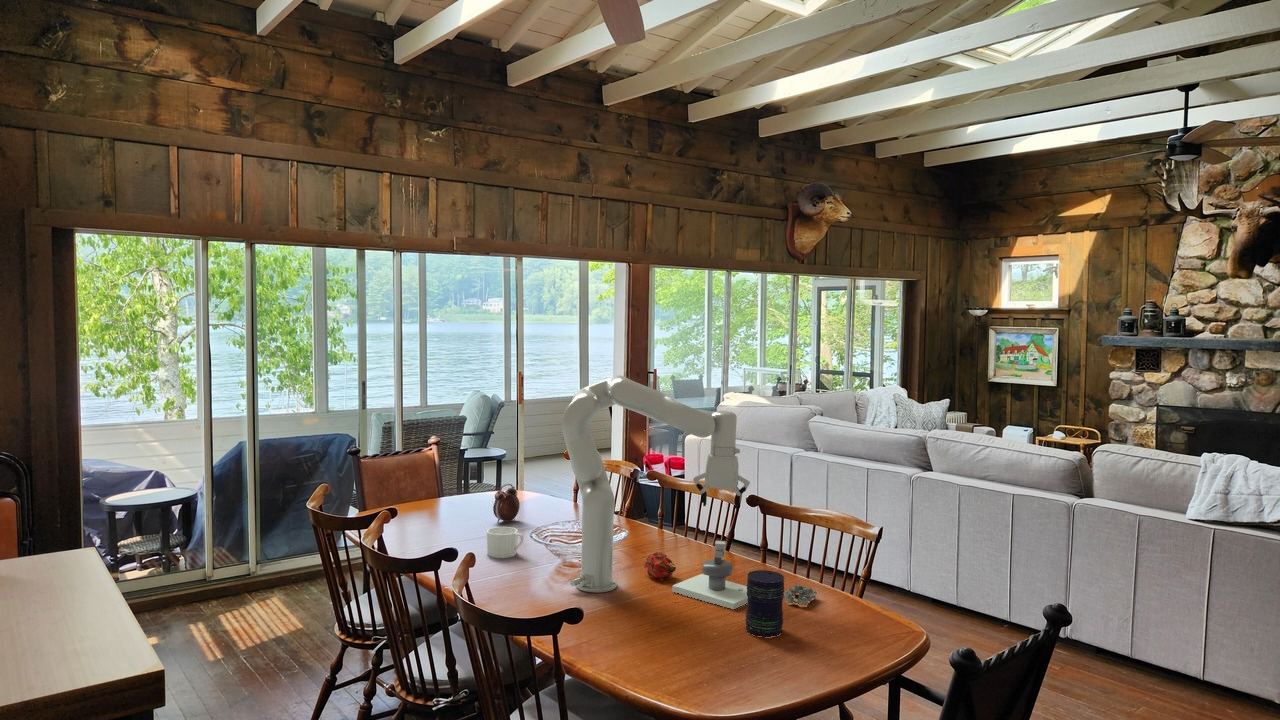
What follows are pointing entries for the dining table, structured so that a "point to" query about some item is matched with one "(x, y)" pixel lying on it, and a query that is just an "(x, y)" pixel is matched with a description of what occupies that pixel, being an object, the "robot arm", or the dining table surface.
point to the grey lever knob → (718, 563)
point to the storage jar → (764, 603)
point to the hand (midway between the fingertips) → (720, 506)
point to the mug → (503, 542)
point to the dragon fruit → (659, 566)
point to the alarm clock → (506, 504)
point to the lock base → (713, 590)
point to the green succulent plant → (800, 594)
